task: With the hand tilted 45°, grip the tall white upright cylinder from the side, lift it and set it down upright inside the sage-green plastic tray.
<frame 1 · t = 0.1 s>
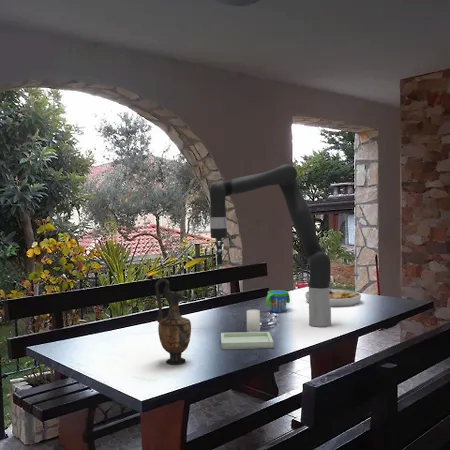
hand: (219, 263, 226), 29 cm above the table, tool pointing down, fingers open, 8 cm apart
tray: (246, 343, 200), on the table
vase: (174, 362, 179), on the table
white upright cylinder: (253, 334, 215), on the table
bowl: (332, 303, 278), on the table
snack cup: (278, 311, 258), on the table
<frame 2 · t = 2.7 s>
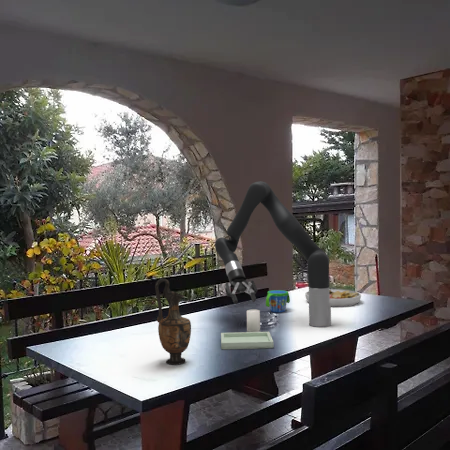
hand: (245, 302, 222), 12 cm above the table, tool tilted 45°, fingers open, 8 cm apart
nothing on the table moved.
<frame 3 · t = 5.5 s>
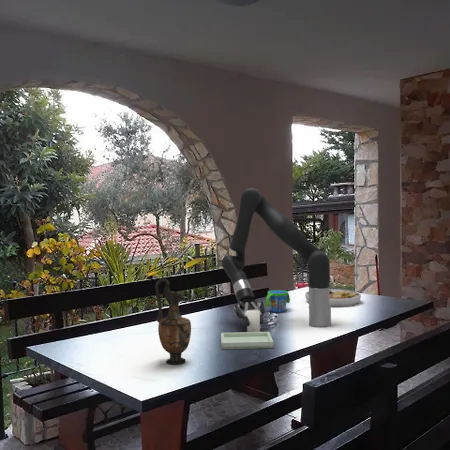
hand: (255, 324, 213), 4 cm above the table, tool tilted 45°, fingers closed on white upright cylinder, 5 cm apart
white upright cylinder: (253, 334, 214), on the table, touching gripper
everything else where it was.
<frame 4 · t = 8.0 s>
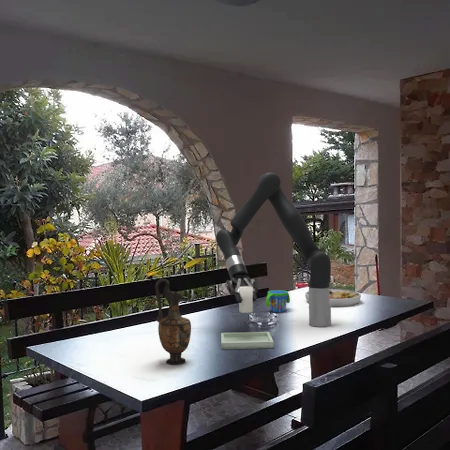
hand: (247, 301, 203), 16 cm above the table, tool tilted 45°, fingers closed on white upright cylinder, 5 cm apart
white upright cylinder: (246, 311, 204), point 12 cm above the table, touching gripper
everything else where it was.
when the fingers open (7 cm above the table, at t = 10.6 s): white upright cylinder drops 1 cm, resting on tray.
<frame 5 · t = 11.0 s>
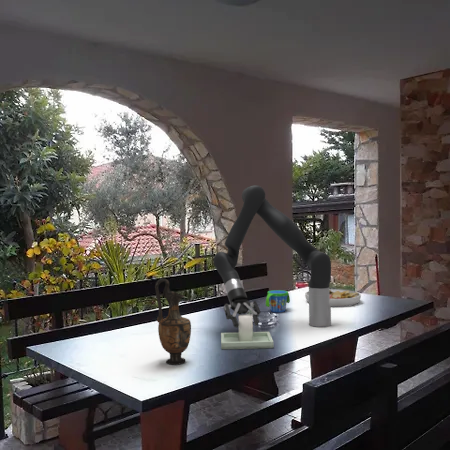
hand: (247, 325, 199), 7 cm above the table, tool tilted 45°, fingers open, 8 cm apart
white upright cylinder: (245, 340, 200), point 1 cm above the table, touching tray
everything else where it was.
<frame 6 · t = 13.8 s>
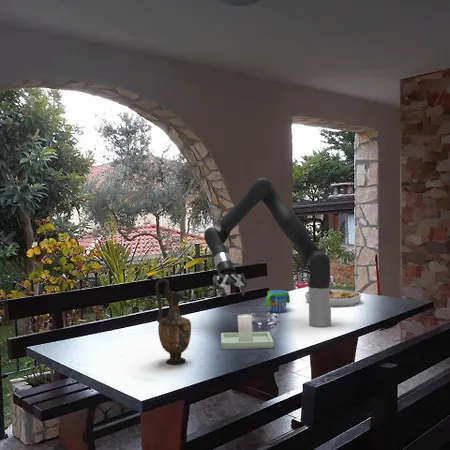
hand: (234, 295, 210), 17 cm above the table, tool tilted 45°, fingers open, 8 cm apart
nothing on the table moved.
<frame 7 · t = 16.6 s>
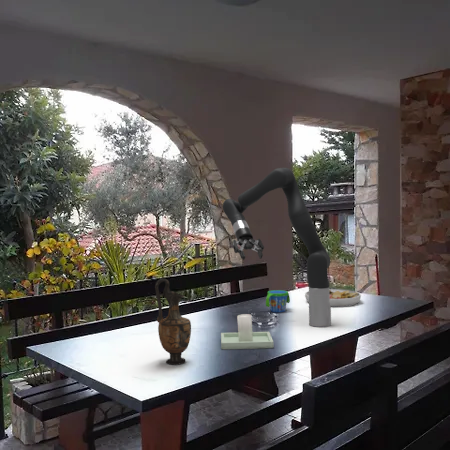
hand: (252, 258, 230), 31 cm above the table, tool tilted 45°, fingers open, 8 cm apart
nothing on the table moved.
at the end: white upright cylinder inside the target area on the tray (0.2 cm from its centre), point 1.1 cm above the tray's base; white upright cylinder tilted 3°; the gripper is holding nothing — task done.
